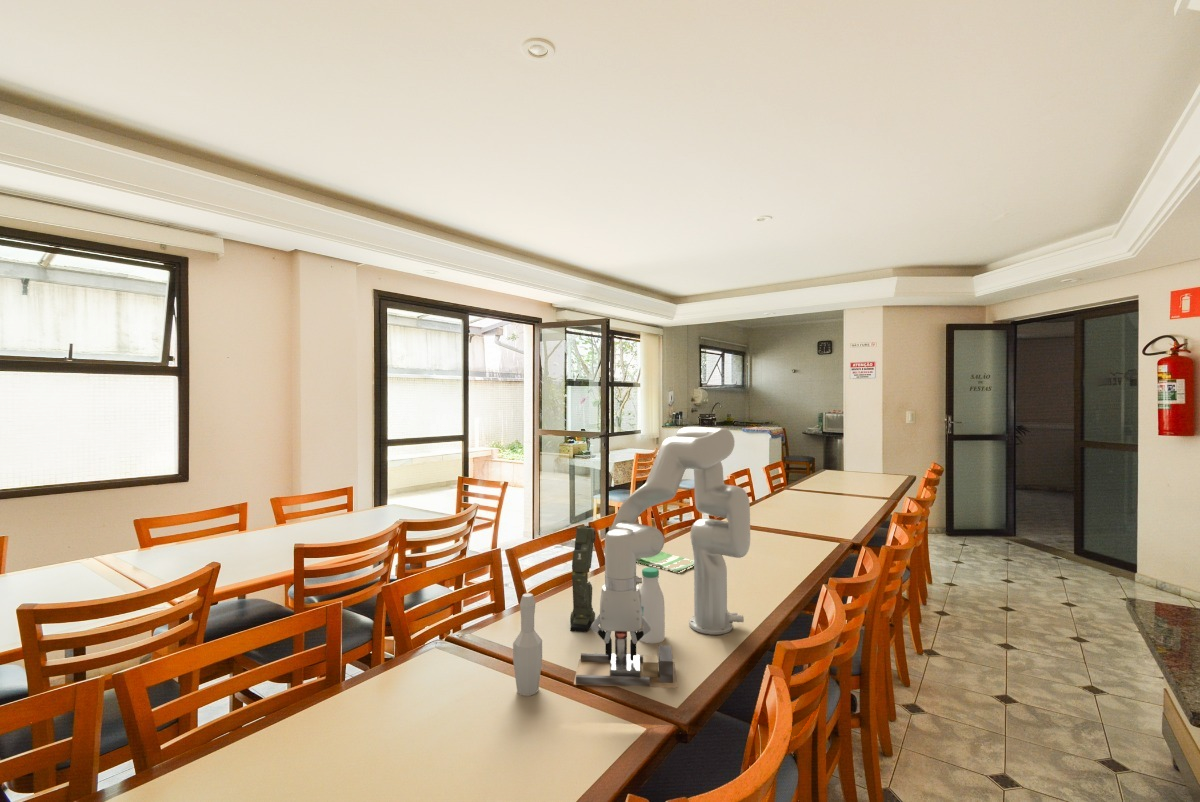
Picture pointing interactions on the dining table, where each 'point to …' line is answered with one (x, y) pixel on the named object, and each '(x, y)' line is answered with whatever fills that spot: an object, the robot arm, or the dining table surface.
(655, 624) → the milk bottle
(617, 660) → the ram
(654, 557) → the dish towel
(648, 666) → the nut block
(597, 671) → the press board
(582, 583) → the mechanical leg
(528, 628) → the faceted bottle
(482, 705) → the dining table surface
